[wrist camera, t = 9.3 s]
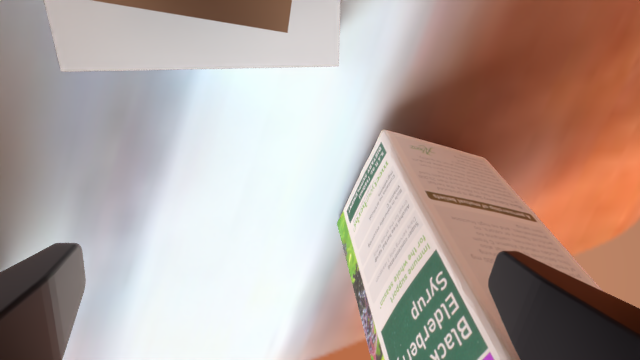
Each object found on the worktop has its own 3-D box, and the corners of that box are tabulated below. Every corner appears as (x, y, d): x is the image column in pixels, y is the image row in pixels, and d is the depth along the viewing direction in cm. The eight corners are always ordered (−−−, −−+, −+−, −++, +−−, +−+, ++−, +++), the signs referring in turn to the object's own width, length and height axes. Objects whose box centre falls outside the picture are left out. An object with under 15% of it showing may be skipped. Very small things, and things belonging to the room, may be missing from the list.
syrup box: (379, 123, 19) (578, 510, 7) (490, 155, 21) (805, 514, 9) (334, 221, 22) (422, 618, 10) (435, 243, 24) (616, 606, 11)
